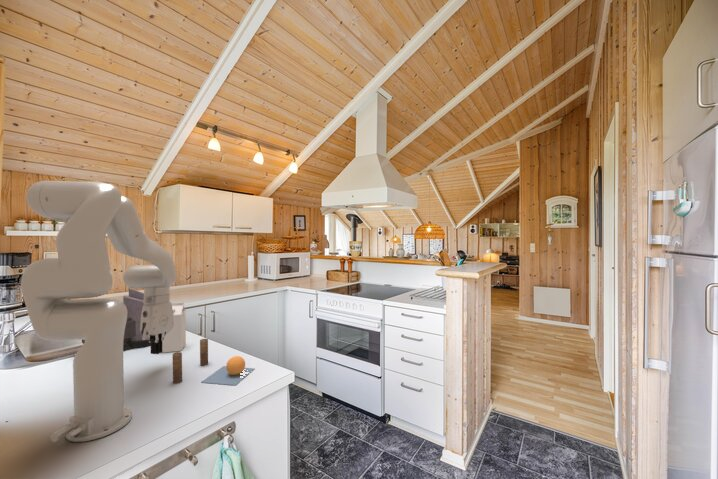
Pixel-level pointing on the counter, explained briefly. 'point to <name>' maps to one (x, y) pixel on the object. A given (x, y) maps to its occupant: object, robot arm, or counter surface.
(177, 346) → the milk carton
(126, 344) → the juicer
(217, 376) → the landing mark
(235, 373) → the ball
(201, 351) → the outer post
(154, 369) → the counter surface
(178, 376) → the inner post
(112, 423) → the robot arm
